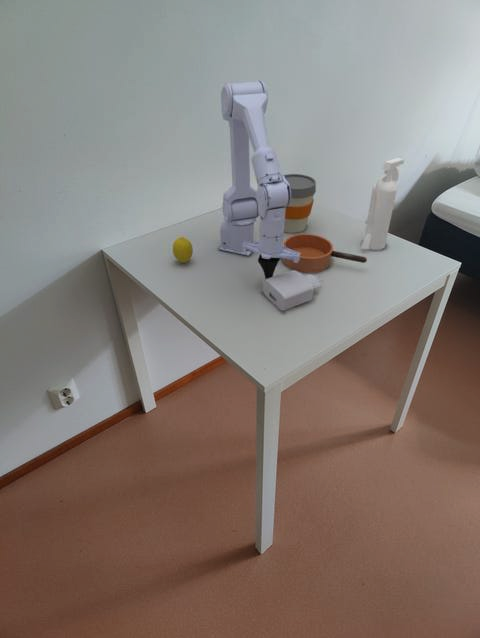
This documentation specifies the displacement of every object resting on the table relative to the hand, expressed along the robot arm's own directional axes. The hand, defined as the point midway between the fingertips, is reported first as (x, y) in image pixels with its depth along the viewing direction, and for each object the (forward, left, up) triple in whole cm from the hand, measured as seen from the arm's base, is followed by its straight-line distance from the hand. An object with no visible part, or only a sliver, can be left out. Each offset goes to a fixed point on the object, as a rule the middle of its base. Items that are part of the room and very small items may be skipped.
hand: (269, 279), depth 105 cm
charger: (+8, 0, -2) cm, 8 cm away
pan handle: (+17, +17, +1) cm, 24 cm away
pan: (+6, +17, -2) cm, 18 cm away
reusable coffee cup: (-4, +35, -2) cm, 35 cm away
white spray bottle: (+22, +32, -2) cm, 39 cm away
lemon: (-26, +2, -2) cm, 27 cm away
